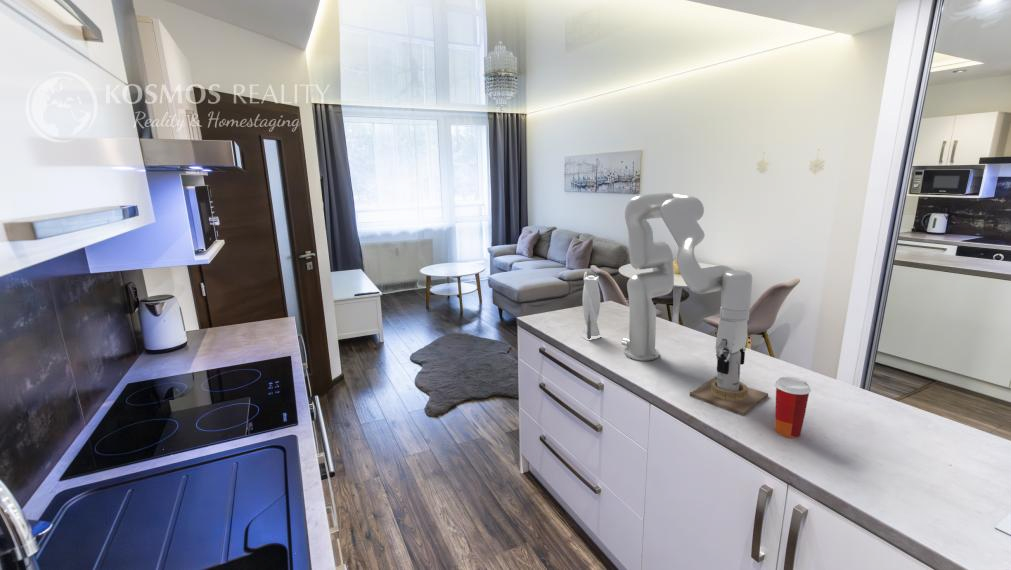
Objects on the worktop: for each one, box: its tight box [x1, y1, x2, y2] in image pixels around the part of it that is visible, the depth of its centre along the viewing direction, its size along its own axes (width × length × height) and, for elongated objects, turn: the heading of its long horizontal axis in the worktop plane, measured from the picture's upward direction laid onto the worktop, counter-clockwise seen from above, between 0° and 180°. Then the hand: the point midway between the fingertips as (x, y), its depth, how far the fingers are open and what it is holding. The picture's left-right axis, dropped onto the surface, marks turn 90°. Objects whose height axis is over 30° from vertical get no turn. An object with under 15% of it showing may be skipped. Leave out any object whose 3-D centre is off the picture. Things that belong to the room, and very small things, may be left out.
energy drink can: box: [716, 349, 741, 392], centre depth 132 cm, size 6×6×15 cm
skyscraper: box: [581, 271, 601, 339], centre depth 186 cm, size 8×8×28 cm
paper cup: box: [774, 376, 812, 439], centre depth 113 cm, size 8×8×14 cm
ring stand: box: [689, 376, 769, 416], centre depth 133 cm, size 16×16×4 cm
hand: (730, 367), depth 132 cm, fingers open, 9 cm apart
